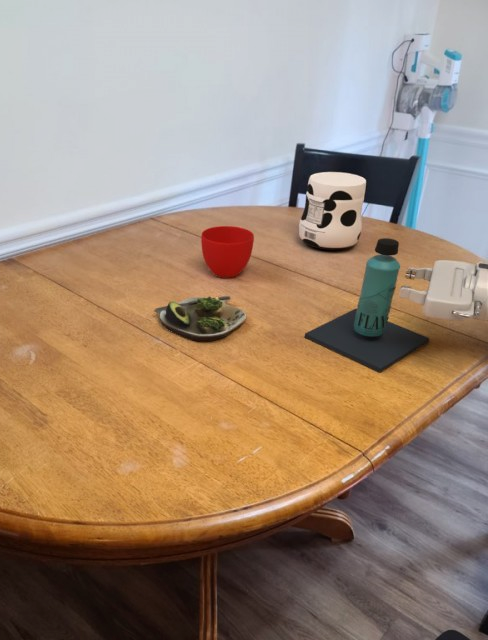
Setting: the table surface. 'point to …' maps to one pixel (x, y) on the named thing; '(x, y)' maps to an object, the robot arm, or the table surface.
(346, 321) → the mat
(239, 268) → the ceramic cup
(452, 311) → the robot arm
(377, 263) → the beverage bottle
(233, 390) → the table surface
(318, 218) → the milk container
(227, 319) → the salad plate
